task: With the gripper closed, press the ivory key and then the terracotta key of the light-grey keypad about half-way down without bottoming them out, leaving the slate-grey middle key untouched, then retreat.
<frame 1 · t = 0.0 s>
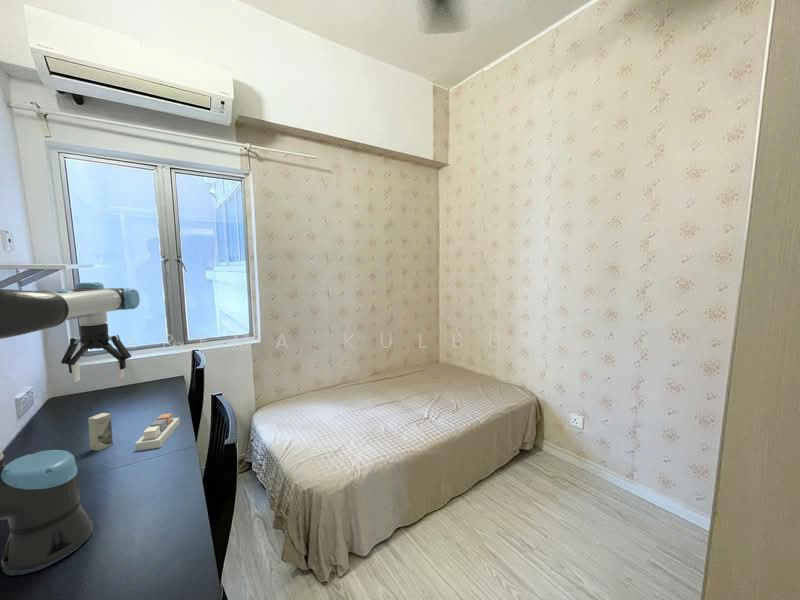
hand: (99, 379, 120), 28 cm above the table, fingers open, 13 cm apart
keypad housing: (159, 436, 132), on the table
key ivory: (151, 432, 126), point 5 cm above the table, slide at 0.0 cm
box: (102, 447, 124), on the table
key terracotta: (164, 419, 137), point 5 cm above the table, slide at 0.0 cm
key slate: (158, 425, 131), point 5 cm above the table, slide at 0.0 cm
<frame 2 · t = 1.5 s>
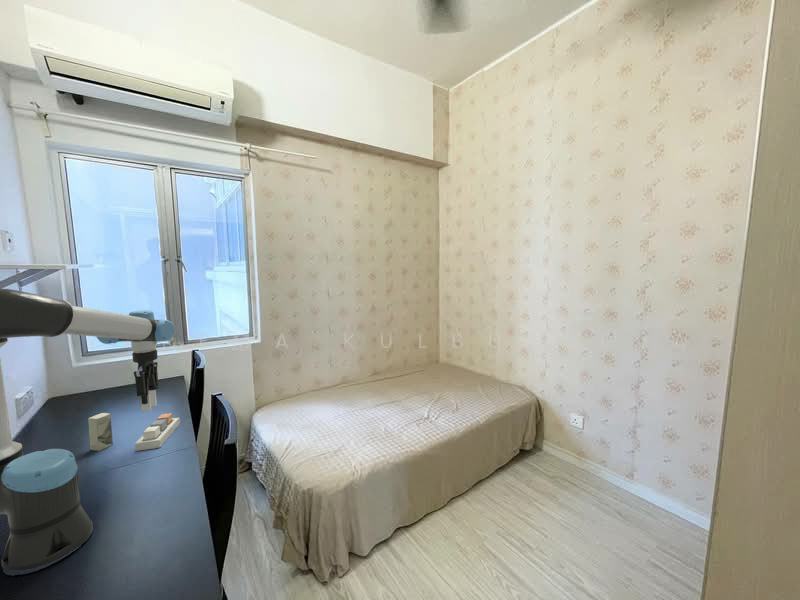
hand: (149, 408, 125), 15 cm above the table, fingers open, 4 cm apart
nothing on the table moved.
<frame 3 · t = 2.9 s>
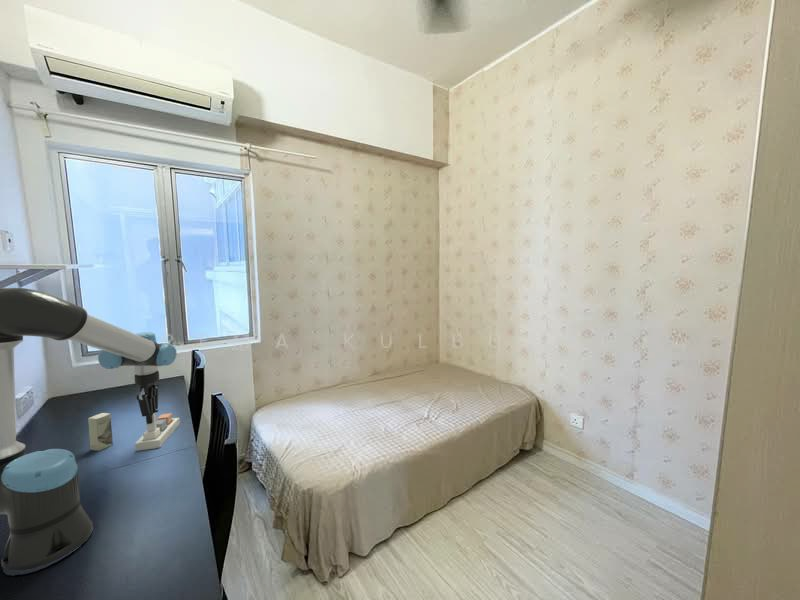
hand: (151, 429, 126), 6 cm above the table, fingers closed
key ivory: (151, 434, 126), point 4 cm above the table, slide at 0.7 cm, touching gripper
everything else where it was.
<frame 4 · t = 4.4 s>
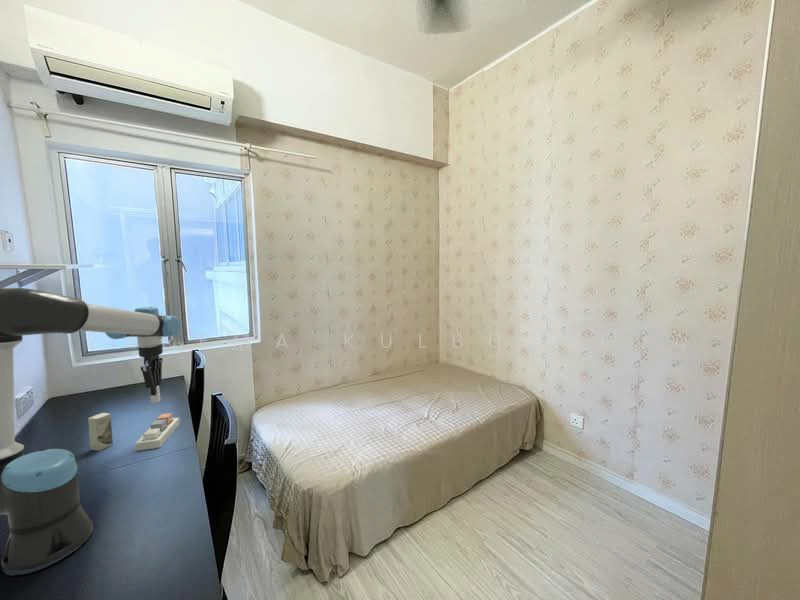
hand: (155, 401, 129), 15 cm above the table, fingers closed
key ivory: (152, 435, 126), point 4 cm above the table, slide at 1.0 cm
everything else where it was.
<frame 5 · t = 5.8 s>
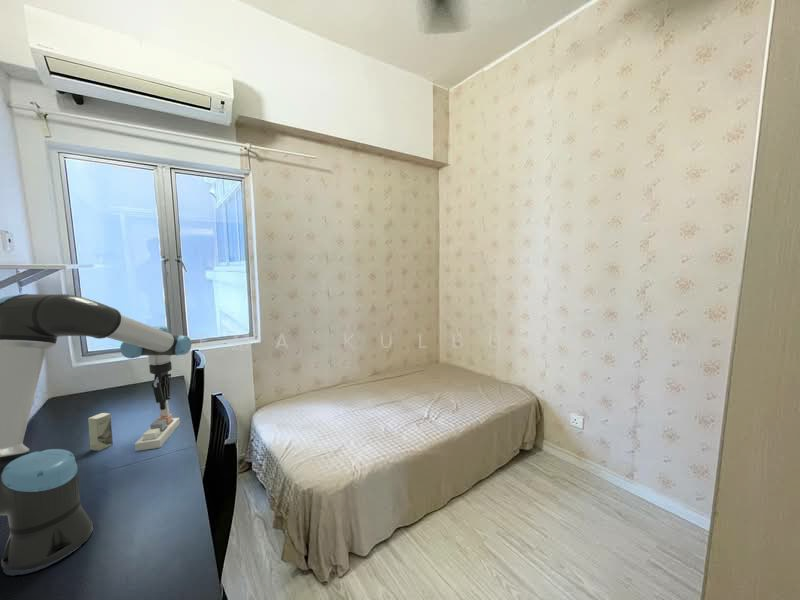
hand: (164, 415, 137), 6 cm above the table, fingers closed
key terracotta: (164, 419, 137), point 4 cm above the table, slide at 0.2 cm, touching gripper
everything else where it was.
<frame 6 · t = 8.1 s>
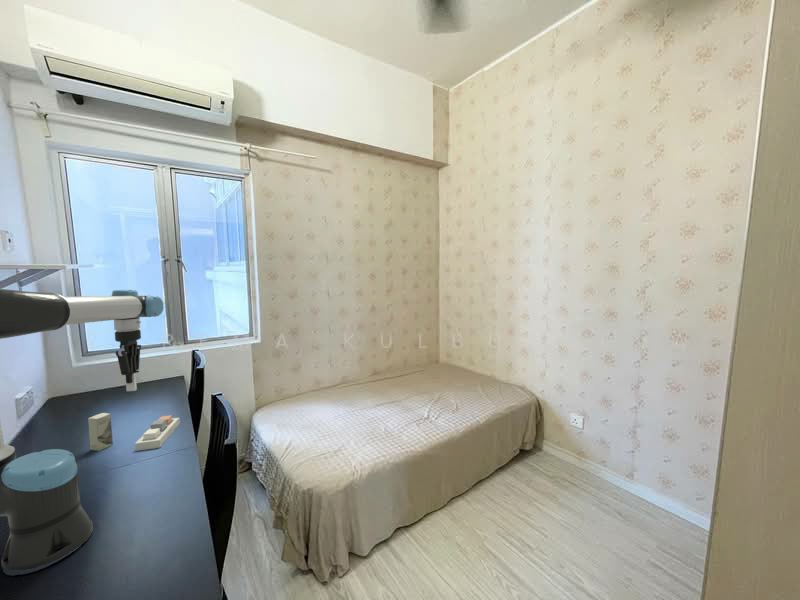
hand: (131, 390, 123), 23 cm above the table, fingers closed
key terracotta: (165, 421, 137), point 4 cm above the table, slide at 0.9 cm
everything else where it was.
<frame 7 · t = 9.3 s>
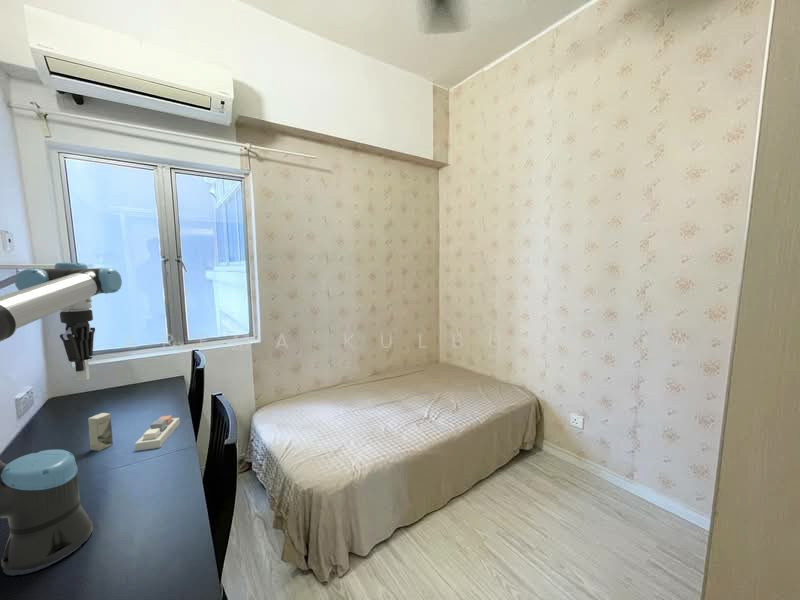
hand: (83, 379, 106), 32 cm above the table, fingers closed
nothing on the table moved.
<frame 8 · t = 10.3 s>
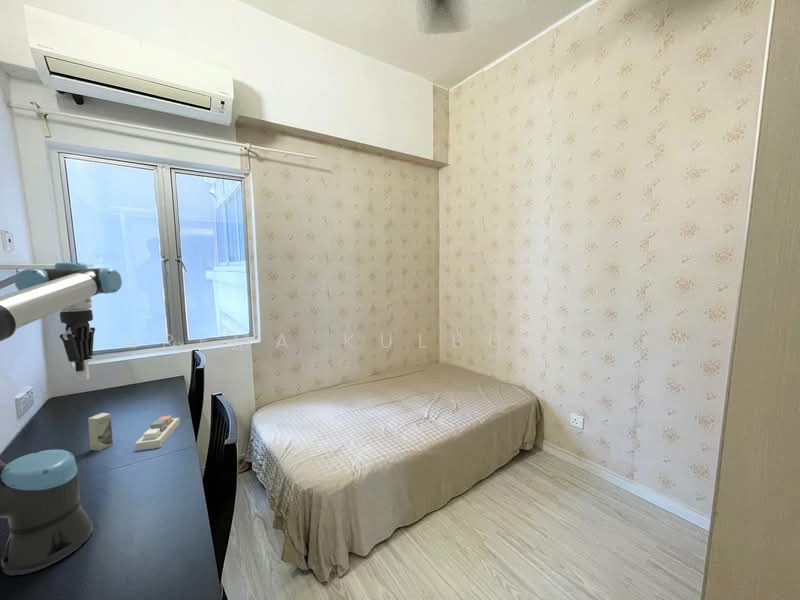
hand: (83, 379, 106), 32 cm above the table, fingers closed
nothing on the table moved.
at the end: key ivory slide at 1.0 cm; key terracotta slide at 0.9 cm; key slate slide at 0.0 cm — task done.
